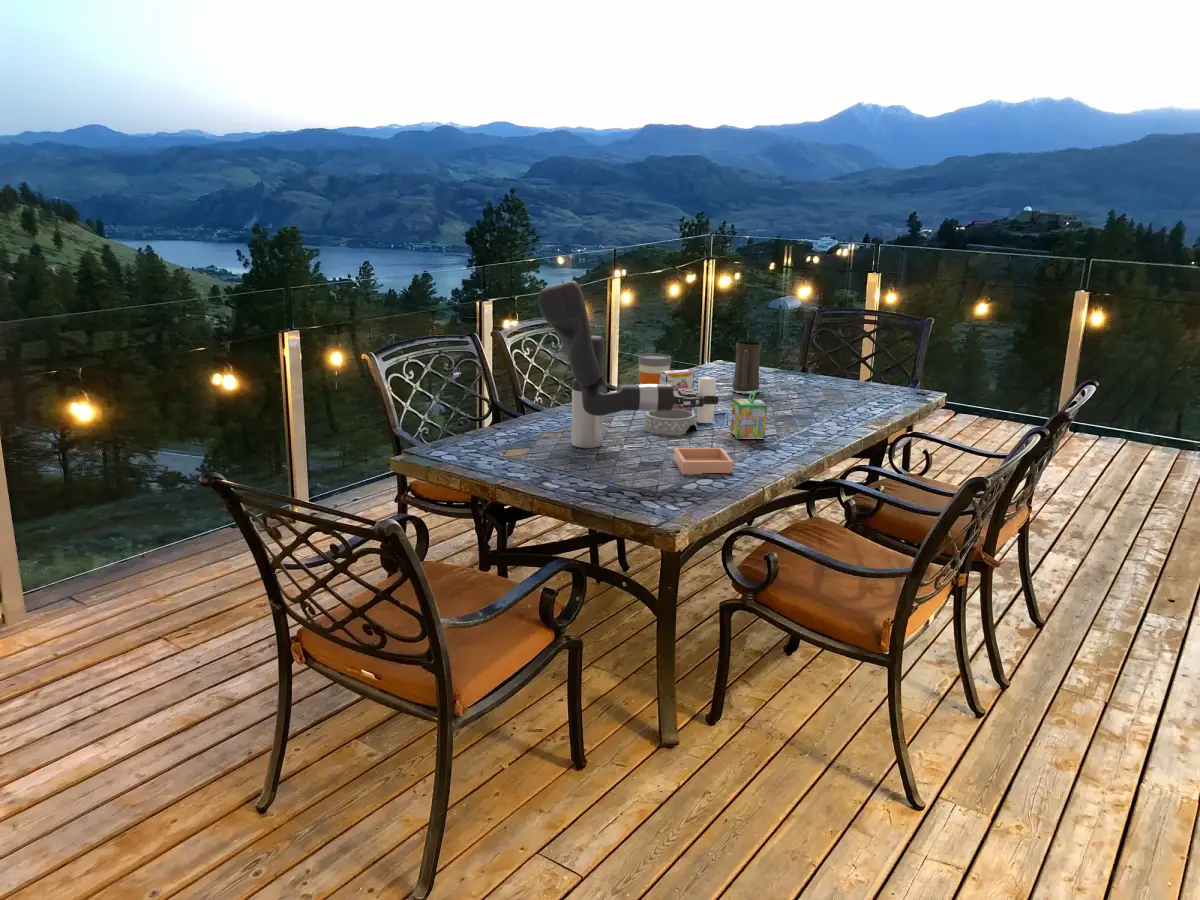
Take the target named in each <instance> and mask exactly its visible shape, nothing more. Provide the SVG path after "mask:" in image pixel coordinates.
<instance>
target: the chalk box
mask: <svg viewBox="0 0 1200 900" xmlns="http://www.w3.org/2000/svg"><path fill="white" fill-rule="evenodd" d="M756 395H757V394H756V393H755V392H754V391H752V390H751V393H750V395H749V396H748V398H733V399H732V407H731V418H730V427H729V429H730V430H729V432H730V431H731V432H732V433H733V434H734V435H735V436H736V437H737V438H751V437H765V436H766V424H767V411H768V404H766V402H764V401H763V400H762V399H759V398H756ZM765 438H766V437H765Z"/></svg>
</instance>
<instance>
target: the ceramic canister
mask: <svg viewBox="0 0 1200 900" xmlns="http://www.w3.org/2000/svg"><path fill="white" fill-rule="evenodd" d="M697 380H698V382H697V384H698V385H697V391H698V395H701V396H702V395H704V396H716V390H717V389H716V388H717V386H716V385H717V377H713V376H699V377H698V379H697ZM696 402H699V400H696ZM715 406H716V404H704V405H703V407H696V416H695V417H696V422H698V423H701V424H702V423H703V424H709V423H710V424H711V423H714V421H715Z"/></svg>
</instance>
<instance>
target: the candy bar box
mask: <svg viewBox="0 0 1200 900" xmlns="http://www.w3.org/2000/svg"><path fill="white" fill-rule="evenodd" d="M660 384H671V385H672V386H673V391H676V388H679V389H694V385H695V371H693V370H690V369H677V370H675V369H674V370H669V371H660ZM688 393H689V392H688ZM673 408H675V409H684V410H688V411H691V412H693V407H688V408H684V407H683V406H679V405H678V404H674V405H673Z"/></svg>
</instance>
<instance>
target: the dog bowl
mask: <svg viewBox="0 0 1200 900" xmlns="http://www.w3.org/2000/svg"><path fill="white" fill-rule="evenodd" d="M696 417H697V416H696V413H694V412H693V411H692V412H691V411H688V410H684V409H675V408H673V409H672V410H671V411H646V413H645V416H644V421H643V425H642V429H643V430H644V431H645V432H648V433H649V434H650V433H651V434H655V435H660V434H661V436H662V435H663V436H683V435H682V434H685V435H686V432H687V431H688V430H689V429H690V428H691V426H693V425H695V426H694V427H695V428H696V430H697V429H698V430H699V428H698V424H697V421H696Z"/></svg>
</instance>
